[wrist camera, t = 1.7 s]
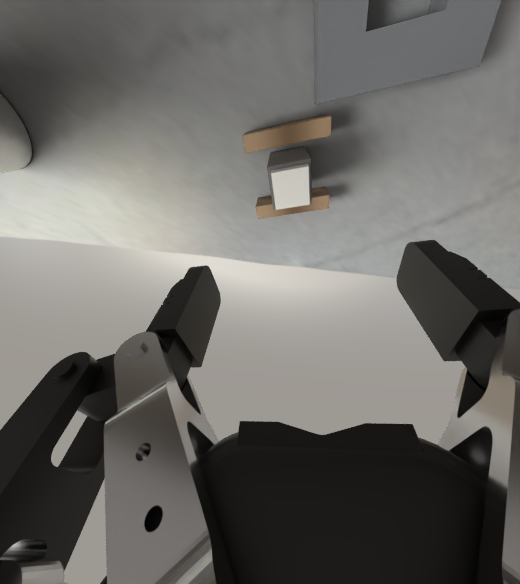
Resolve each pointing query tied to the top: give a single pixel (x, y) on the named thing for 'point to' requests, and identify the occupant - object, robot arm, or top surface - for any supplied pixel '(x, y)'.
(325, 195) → the pair of wooden planks
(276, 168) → the plug
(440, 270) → the robot arm
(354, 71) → the port
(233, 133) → the top surface
